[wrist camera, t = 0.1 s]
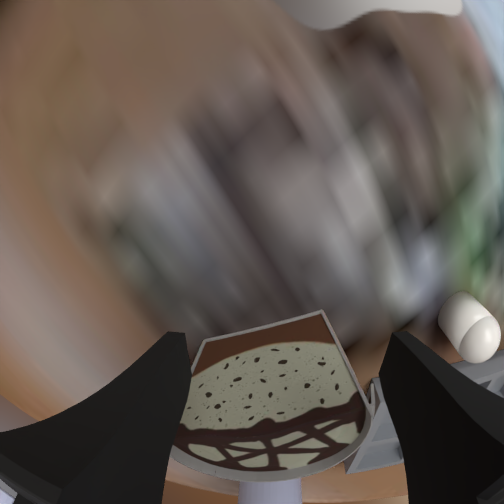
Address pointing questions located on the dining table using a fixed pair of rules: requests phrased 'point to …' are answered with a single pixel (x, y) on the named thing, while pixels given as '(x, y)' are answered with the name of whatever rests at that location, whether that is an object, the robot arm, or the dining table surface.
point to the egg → (469, 327)
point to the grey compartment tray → (383, 432)
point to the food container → (273, 403)
